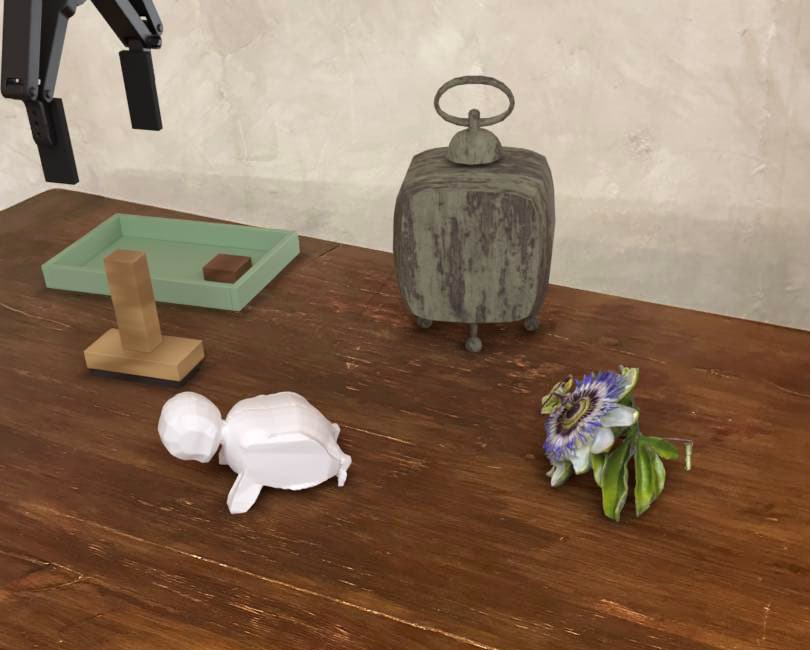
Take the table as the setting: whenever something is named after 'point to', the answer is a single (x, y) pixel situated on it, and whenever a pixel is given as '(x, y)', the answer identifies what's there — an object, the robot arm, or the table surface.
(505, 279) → the tabletop clock
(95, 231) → the tray
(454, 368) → the table surface
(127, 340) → the brush
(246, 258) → the wood chip
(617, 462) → the passion flower
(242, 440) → the white turtle figurine
